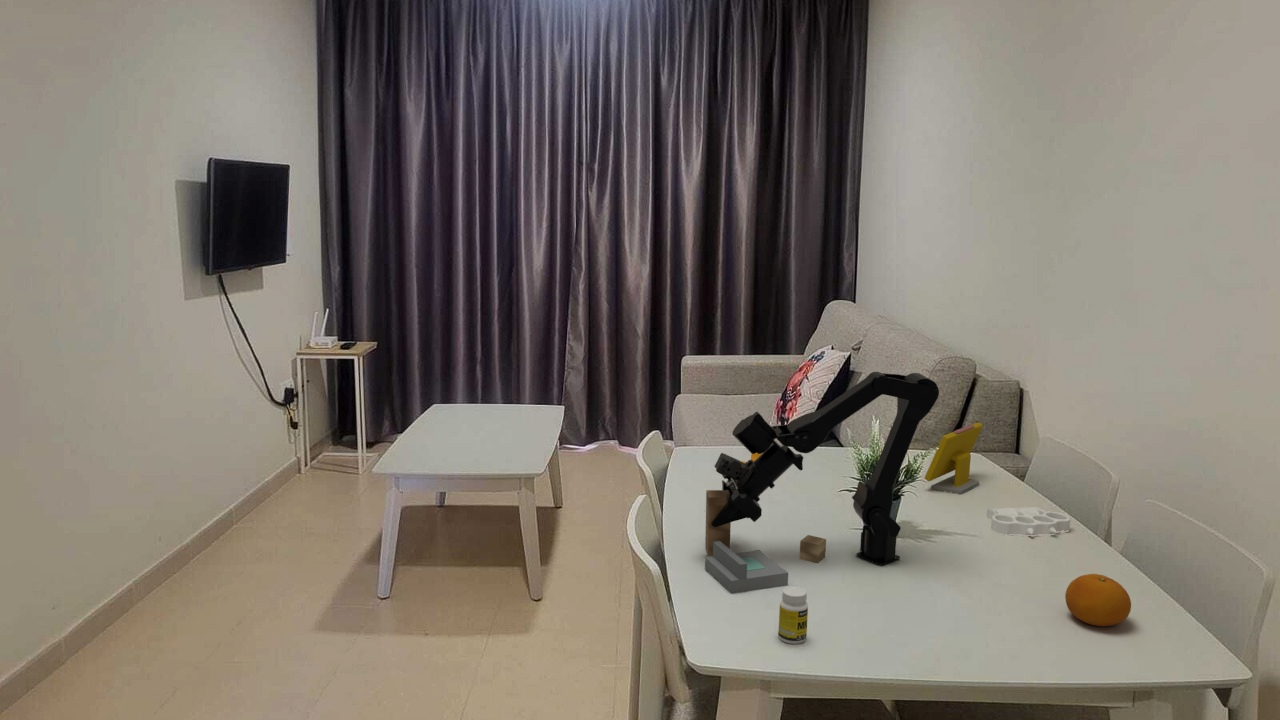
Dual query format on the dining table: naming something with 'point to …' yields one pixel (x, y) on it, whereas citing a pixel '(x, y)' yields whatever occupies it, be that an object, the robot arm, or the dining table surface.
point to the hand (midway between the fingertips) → (711, 521)
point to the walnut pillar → (713, 507)
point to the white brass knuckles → (1027, 521)
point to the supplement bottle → (793, 615)
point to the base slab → (744, 569)
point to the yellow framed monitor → (954, 460)
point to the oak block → (812, 548)
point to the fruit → (1098, 600)
